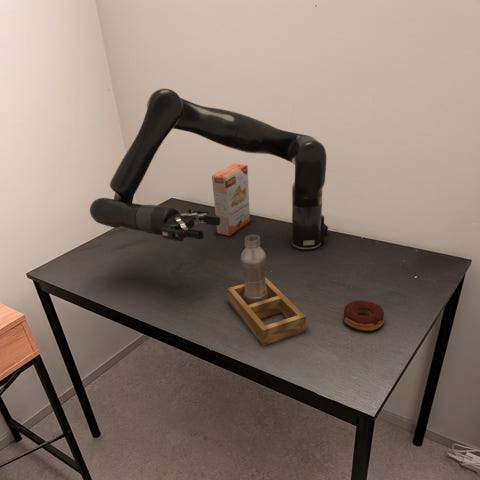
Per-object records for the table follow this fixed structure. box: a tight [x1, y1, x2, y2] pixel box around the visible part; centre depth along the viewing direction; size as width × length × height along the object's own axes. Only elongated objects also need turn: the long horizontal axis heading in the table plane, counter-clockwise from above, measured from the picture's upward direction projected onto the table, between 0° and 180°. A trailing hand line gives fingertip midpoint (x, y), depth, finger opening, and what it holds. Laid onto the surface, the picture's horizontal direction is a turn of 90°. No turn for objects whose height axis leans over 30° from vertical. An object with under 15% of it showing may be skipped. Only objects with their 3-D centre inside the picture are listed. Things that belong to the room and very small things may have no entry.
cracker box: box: [211, 163, 251, 237], centre depth 157 cm, size 14×6×21 cm, turn 148°
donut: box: [342, 299, 385, 332], centre depth 111 cm, size 10×10×4 cm
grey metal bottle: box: [240, 234, 269, 305], centre depth 115 cm, size 6×7×20 cm
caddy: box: [227, 276, 307, 346], centre depth 115 cm, size 11×21×4 cm, turn 24°
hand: (211, 227), depth 113 cm, fingers open, 8 cm apart
